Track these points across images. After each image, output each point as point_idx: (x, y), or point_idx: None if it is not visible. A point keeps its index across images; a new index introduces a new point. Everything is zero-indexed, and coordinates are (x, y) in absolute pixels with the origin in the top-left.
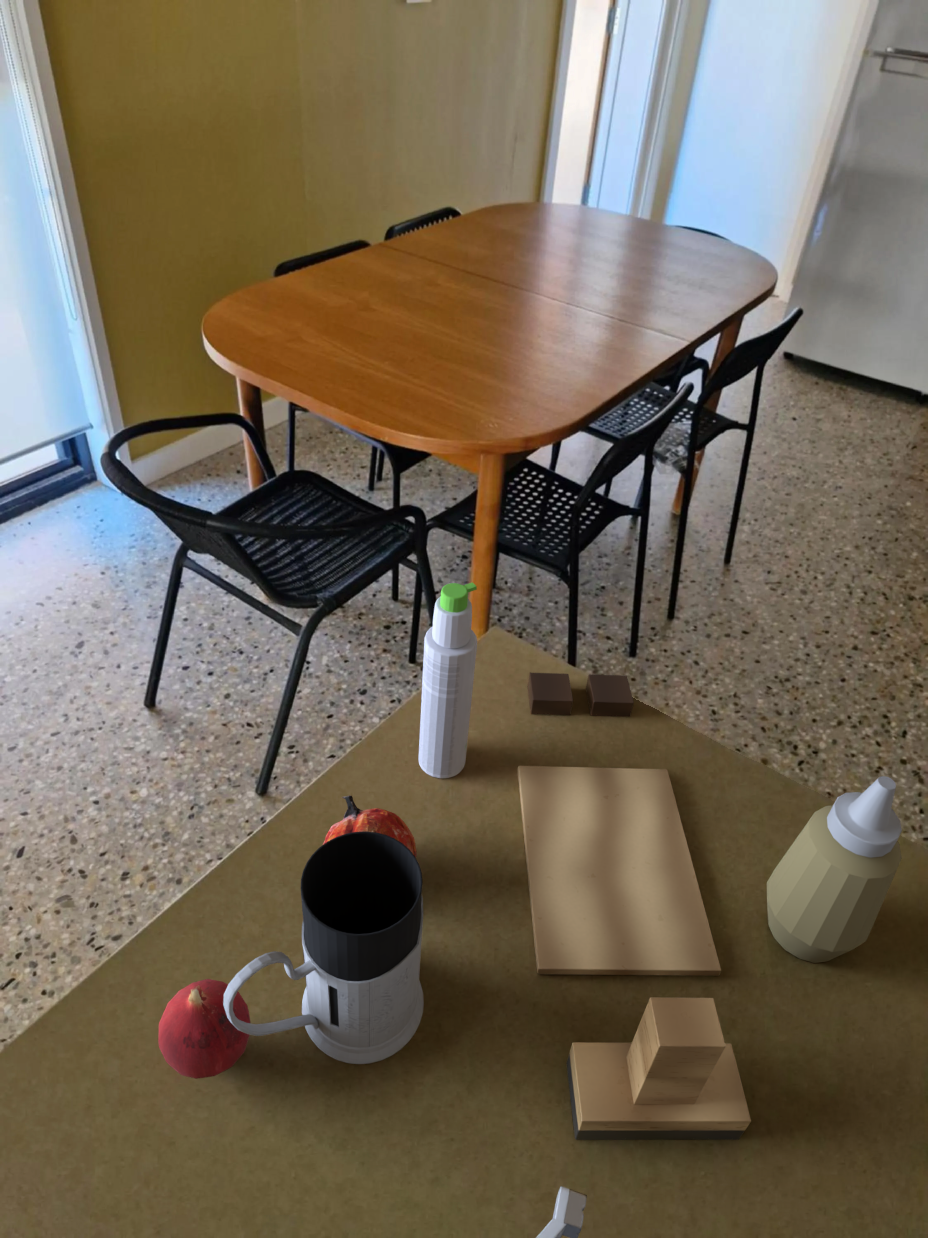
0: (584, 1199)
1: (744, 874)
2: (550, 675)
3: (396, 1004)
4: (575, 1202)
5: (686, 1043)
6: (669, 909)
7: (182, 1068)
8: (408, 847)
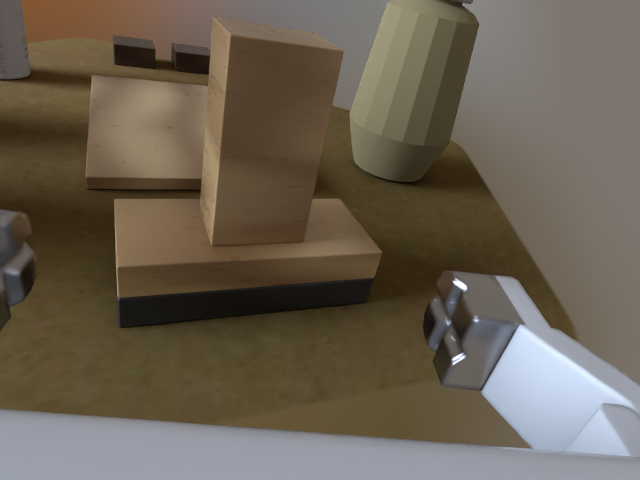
0: (12, 212)
1: (325, 142)
2: (134, 38)
3: None
4: None
5: (278, 40)
6: None
7: None
8: None
